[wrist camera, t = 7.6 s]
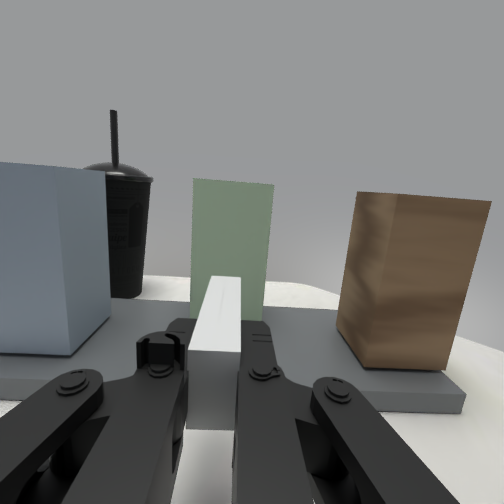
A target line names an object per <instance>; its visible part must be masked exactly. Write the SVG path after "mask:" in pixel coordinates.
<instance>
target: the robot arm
mask: <svg viewBox="0 0 504 504" xmlns="http://www.w3.org/2000/svg"><path fill="white" fill-rule="evenodd" d="M136 358H137V369H136V371H135V373H134V374H133V375H132V376H130V377H127V378H123V379H118V380H112V381H107V382H103V376H102V375H101V373H100V372H98V371H96V370H94V369H78V370H72V371H69V372H66V373H64V374H61V375H59V376H58V377H56V378H54V379H53V380H51V381H50V382H48V383H47V384H45V385H44V386H43V387H41V388H40V389H39V390H37V391H36V392H35V393H33V394H32V395H31V396H29V397H28V398H27V399H25V400H24V401H22V402H21V403H20V404H18V405H17V406H16V407H14V408H13V409H12V410H10V411H9V412H8V413H6V414H5V415H4V416H2V417H1V418H0V504H170V502H171V498H172V493H173V489H174V484H175V480H176V475H177V470H178V466H179V461H180V457H181V452H182V447H183V430H184V426H185V421H186V429H199V430H234V444H233V457H232V468H233V472H232V504H314V502H315V504H460V503H459V502H458V501H457V500H456V499H455V498H454V496H453V495H452V494H451V493H450V492H449V491H448V490H447V489H446V487H445V486H444V485H443V484H442V483H441V482H440V481H439V480H438V478H437V477H436V476H435V475H434V474H433V473H432V472H431V471H430V470H429V468H428V467H427V466H426V465H425V464H424V463H423V462H422V461H421V459H420V458H419V457H418V456H417V455H416V454H415V453H414V452H413V450H412V449H411V448H410V447H409V446H408V445H407V444H406V443H405V441H404V440H403V439H402V438H401V437H400V436H399V435H398V434H397V432H396V431H395V430H394V429H393V428H392V427H391V426H390V425H389V423H388V422H387V421H386V420H385V419H384V418H383V417H382V416H381V415H380V413H379V412H378V411H377V410H376V409H375V408H374V407H373V406H372V404H371V403H370V402H369V401H368V400H367V399H366V398H365V397H364V395H363V394H362V393H361V392H360V391H359V390H358V389H357V388H356V387H355V386H353V385H352V384H351V383H349V382H347V381H345V380H343V379H340V378H336V377H322V378H319V379H317V380H316V381H315V382H314V383H313V388H311V387H308V386H304V385H300V384H298V383H295V382H293V381H291V380H289V379H287V378H286V377H285V374H284V372H283V370H282V368H281V367H279V366H278V365H277V360H276V355H275V350H274V345H273V340H272V336H271V330H270V327H269V326H268V325H267V324H266V323H265V322H264V321H252V320H241V277H228V276H211V279H210V282H209V285H208V288H207V291H206V294H205V298H204V301H203V304H202V307H201V310H200V313H199V316H198V319H193V318H177V319H175V320H174V321H172V322H171V323H170V324H169V325H168V327H167V329H166V331H157V332H153V333H149V334H147V335H145V336H143V337H141V338H140V339H139V340H138V341H137V342H136ZM313 499H314V502H313Z"/></svg>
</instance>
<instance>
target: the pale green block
mask: <svg viewBox="0 0 504 504" xmlns="http://www.w3.org/2000/svg"><path fill="white" fill-rule="evenodd" d="M273 192H274V185H272V184H259V183H247V182H234V181H222V180H209V179H197V178H193V210H192V211H193V214H192V248H191V285H190V318H193V319H198V316H199V313H200V310H201V307H202V304H203V301H204V298H205V294H206V291H207V288H208V285H209V282H210V279H211V276H228V277H241V320H252V321H262V311H263V300H264V289H265V279H266V268H267V257H268V245H269V235H270V225H271V214H272V203H273Z"/></svg>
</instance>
